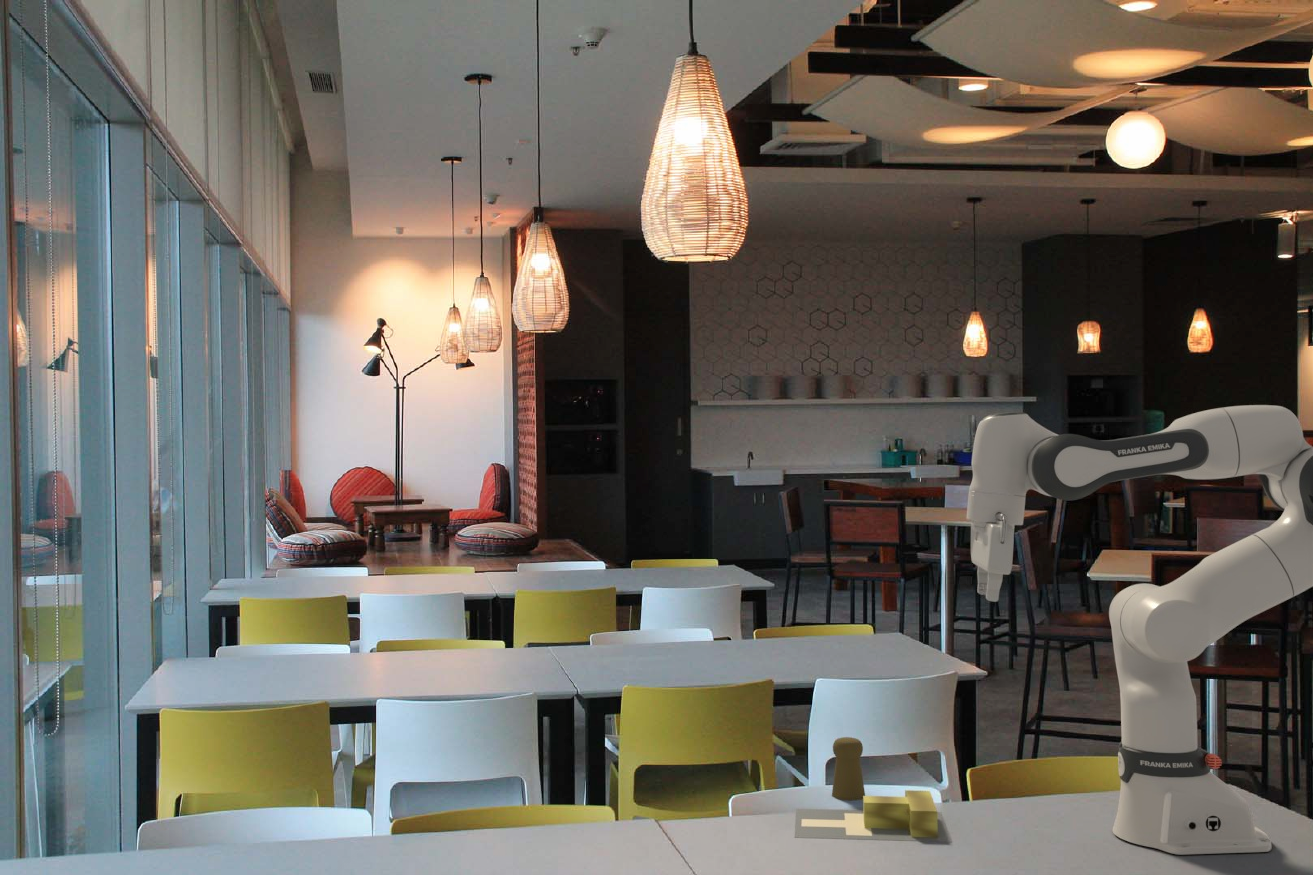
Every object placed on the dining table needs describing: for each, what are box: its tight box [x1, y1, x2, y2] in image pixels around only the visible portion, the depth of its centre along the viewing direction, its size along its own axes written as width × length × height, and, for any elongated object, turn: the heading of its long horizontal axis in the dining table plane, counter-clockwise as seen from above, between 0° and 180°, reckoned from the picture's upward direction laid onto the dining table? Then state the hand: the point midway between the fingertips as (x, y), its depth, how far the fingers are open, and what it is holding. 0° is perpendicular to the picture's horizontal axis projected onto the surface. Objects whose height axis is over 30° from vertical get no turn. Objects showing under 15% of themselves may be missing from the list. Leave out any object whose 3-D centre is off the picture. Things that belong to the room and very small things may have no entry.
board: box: [794, 808, 953, 843], centre depth 193 cm, size 24×16×1 cm, turn 83°
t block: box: [862, 789, 938, 838], centre depth 193 cm, size 11×12×4 cm
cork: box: [831, 736, 866, 801], centre depth 210 cm, size 6×6×11 cm
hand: (987, 597), depth 192 cm, fingers open, 8 cm apart
